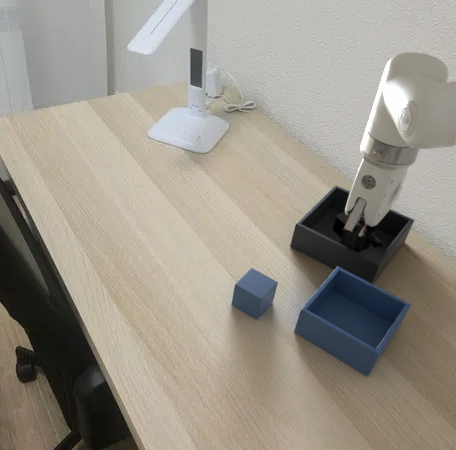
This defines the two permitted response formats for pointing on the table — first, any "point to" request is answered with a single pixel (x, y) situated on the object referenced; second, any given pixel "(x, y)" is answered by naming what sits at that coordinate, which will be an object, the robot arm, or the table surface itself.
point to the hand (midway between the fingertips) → (356, 240)
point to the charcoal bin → (330, 242)
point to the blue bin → (351, 319)
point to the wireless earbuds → (343, 218)
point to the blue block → (254, 293)
